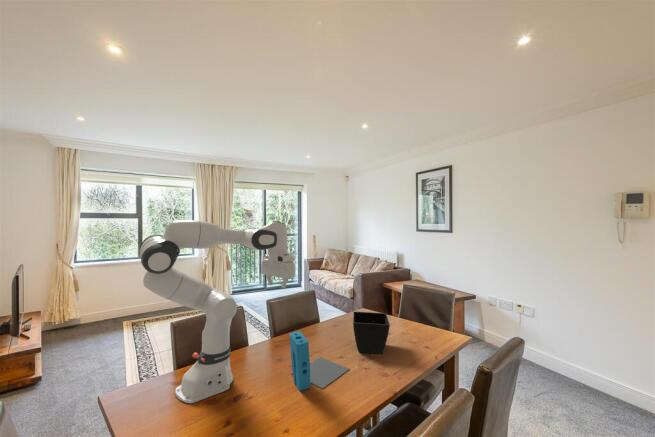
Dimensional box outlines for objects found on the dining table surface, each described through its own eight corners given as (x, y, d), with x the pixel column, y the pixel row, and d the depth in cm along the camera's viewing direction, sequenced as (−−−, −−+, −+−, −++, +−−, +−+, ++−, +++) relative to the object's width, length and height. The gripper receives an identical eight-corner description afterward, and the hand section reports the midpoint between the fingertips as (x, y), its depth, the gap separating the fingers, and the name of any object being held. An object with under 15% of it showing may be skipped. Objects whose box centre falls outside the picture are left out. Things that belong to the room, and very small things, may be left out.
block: (312, 390, 117) (309, 342, 116) (300, 393, 115) (297, 345, 114) (302, 374, 128) (299, 331, 127) (291, 378, 126) (289, 333, 125)
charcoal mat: (322, 389, 118) (322, 388, 118) (291, 374, 129) (291, 373, 129) (349, 369, 134) (349, 368, 134) (320, 357, 145) (320, 357, 145)
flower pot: (386, 341, 165) (386, 312, 165) (390, 357, 146) (390, 324, 146) (353, 340, 167) (353, 311, 167) (352, 355, 148) (353, 322, 148)
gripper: (258, 255, 137) (257, 284, 137) (286, 258, 124) (286, 290, 123) (268, 254, 142) (268, 282, 141) (297, 257, 129) (296, 288, 128)
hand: (276, 286), depth 132 cm, fingers open, 8 cm apart
